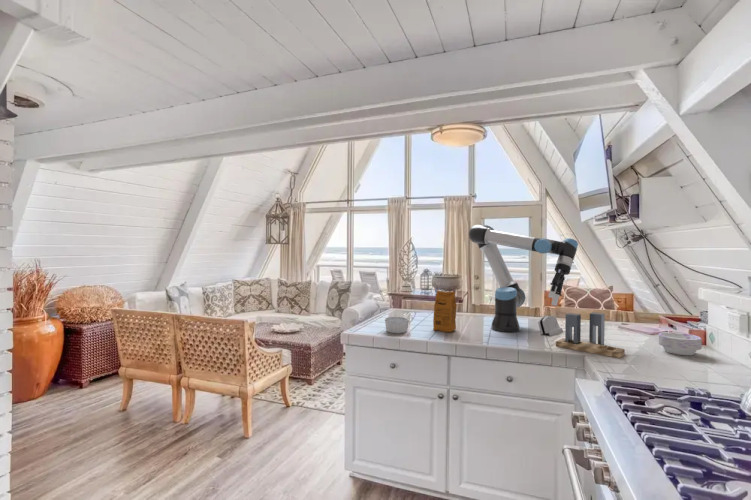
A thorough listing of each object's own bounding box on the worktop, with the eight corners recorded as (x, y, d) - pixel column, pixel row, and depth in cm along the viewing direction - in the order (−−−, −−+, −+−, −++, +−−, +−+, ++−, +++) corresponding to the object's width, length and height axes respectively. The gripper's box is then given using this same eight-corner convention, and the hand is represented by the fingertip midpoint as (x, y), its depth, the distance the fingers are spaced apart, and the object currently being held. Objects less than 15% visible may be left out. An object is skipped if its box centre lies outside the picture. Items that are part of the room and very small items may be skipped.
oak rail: (556, 346, 179) (556, 341, 179) (562, 343, 185) (562, 338, 185) (619, 358, 161) (619, 352, 161) (624, 354, 166) (624, 348, 166)
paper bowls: (649, 348, 177) (650, 331, 177) (680, 348, 178) (680, 331, 178) (677, 358, 162) (677, 339, 162) (711, 357, 163) (711, 339, 163)
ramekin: (408, 329, 214) (409, 316, 214) (408, 334, 201) (408, 321, 201) (385, 328, 216) (385, 316, 215) (383, 333, 202) (383, 320, 202)
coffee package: (438, 327, 220) (438, 289, 219) (458, 330, 212) (458, 291, 212) (430, 330, 212) (430, 290, 211) (450, 333, 204) (451, 292, 204)
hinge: (550, 335, 200) (544, 317, 203) (541, 337, 204) (535, 318, 206) (563, 331, 212) (557, 313, 214) (555, 332, 215) (549, 315, 217)
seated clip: (565, 346, 178) (565, 314, 178) (569, 345, 182) (569, 312, 181) (576, 349, 174) (577, 315, 174) (580, 347, 178) (580, 314, 178)
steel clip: (589, 345, 181) (589, 313, 180) (592, 344, 184) (593, 312, 184) (600, 347, 177) (601, 314, 177) (604, 346, 180) (604, 313, 180)
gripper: (569, 258, 194) (557, 296, 189) (572, 275, 213) (562, 310, 208) (553, 255, 198) (541, 292, 193) (558, 272, 217) (547, 306, 213)
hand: (552, 301), depth 201 cm, fingers open, 13 cm apart
